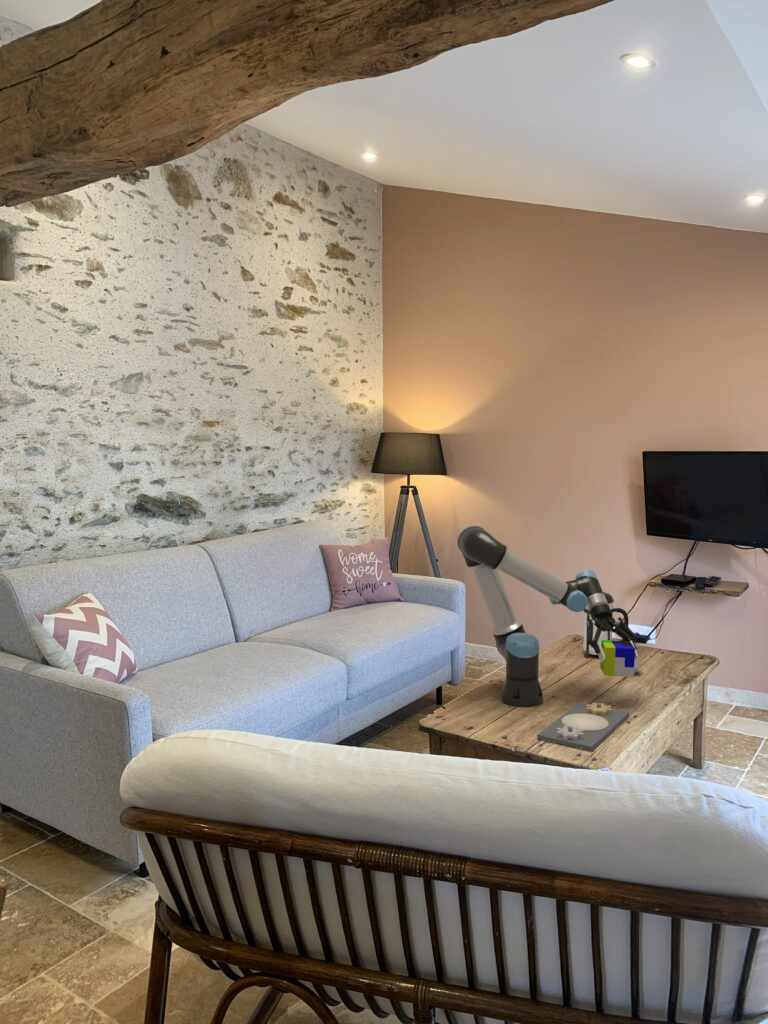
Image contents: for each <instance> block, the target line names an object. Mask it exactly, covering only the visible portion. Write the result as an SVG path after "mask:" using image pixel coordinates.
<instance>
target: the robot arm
mask: <svg viewBox="0 0 768 1024" xmlns="http://www.w3.org/2000/svg"><path fill="white" fill-rule="evenodd" d="M457 547H458V549H459V551H460V552H461V553H462V556H463V559H464V562H465V564H466V567H467V568H468V569H471V570H472V571H473V574H474V576H475V579H476V582H477V584H478V586H479V587H478V588H479V589H480V593H481V594H482V598H483V599H484V600H483V601H484V602H485V605H486V608H487V611H488V613H489V616H490V619H491V621H492V624H493V627H494V628H493V629H492V635H493V637H494V641H495V648H496V649H497V651H498V653H499V654H500V655H501V657H502V658H503V659H504V660H505V681H504V683H503V686H502V688H501V692H500V700H501V701H502V702H503V703H504V704H506V705H508V706H509V705H510V706H513V707H514V706H515V707H522V708H523V707H534V706H538V705H541V704H542V703H543V702H544V694H543V690H542V687H541V684H540V681H539V668H540V667H539V666H540V665H539V662H540V661H539V660H540V659H539V657H540V656H539V655H540V643H539V640H538V638H537V637H536V636H535V635H533V634H530V633H527V632H526V631H525V628H524V625H523V623H522V621H521V620H519V619H516V616H515V612H514V610H513V608H512V605H511V602H510V599H509V597H508V594H507V591H506V588H505V586H504V584H503V581H502V579H501V576H500V573H499V571H501V572H503V573H505V574H507V575H508V576H510V577H511V578H513V579H516V580H517V581H519V582H520V583H523V584H524V585H526V586H528V587H530V588H532V589H533V590H536V591H537V592H539V593H540V594H543V595H544V596H546V597H548V599H549V601H550V603H551V604H552V605H553V606H554V605H562V606H564V607H566V608H567V609H568V610H570V611H571V612H574V613H579V612H580V613H581V612H584V611H583V610H584V609H585V608H586V606H587V608H588V610H589V611H590V615H591V618H592V620H591V619H589V620H588V621H587V623H586V624H587V645H591V647H592V648H594V650H595V653H596V654H598V655H597V656H598V658H599V660H600V662H601V663H604V661H605V654H604V652H603V649H602V647H601V644H600V643H598V644H597V642H598V640H599V637H600V634H601V631H603V632H605V631H612V634H613V633H615V634H616V635H617V636H618V637H620V638H621V640H622V639H623V640H625V641H630V642H631V644H632V645H633V647H634V648H635V660H636V659H637V658H638V659H639V653H638V651H637V645H636V643H635V642H636V640H637V639H638V636H637V635H636V634H635V633H634V632H633V631H632V629H631V628H630V627H629V625H628V626H627V625H626V624H625V623H624V619H623V618H622V617H621V616H619V617H618V618H614V617H612V612H611V610H610V607H609V605H608V602H607V600H606V598H605V595H604V593H603V592H604V590H603V589H602V586H601V584H600V582H599V581H600V580H599V579H598V577H597V576H596V573H595V572H594V571H593V570H591V569H585V570H582V571H580V572H578V573H576V575H575V579H572V580H568V581H563V580H561V579H560V578H557V577H556V576H554V575H552V574H550V573H549V572H547V571H545V570H544V569H542V568H540V567H538V566H537V565H534V563H531V562H529V561H528V560H525V559H524V558H522V557H521V556H519V555H517V554H516V553H513V552H512V551H510V550H509V548H508V546H507V545H505V544H503V543H501V542H500V541H498V540H497V539H496V538H495V537H494V536H493V535H492V534H490V533H489V531H487V530H486V529H484V527H482V526H479V525H469V526H466V527H465V528H463V529H461V531H460V533H459V534H458V536H457ZM593 625H595V626H596V627H597V630H596V634H595V637H594V639H593Z"/></svg>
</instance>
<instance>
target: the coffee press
mask: <svg viewBox="0 0 768 1024" xmlns="http://www.w3.org/2000/svg"><path fill="white" fill-rule="evenodd" d="M603 593H604V595H605V598H606V600H607V602H608V605H609V607H610V610H611V612H612V617H613V616H614V613H620V614H621V615H622V616H623V622H624V623H625V624H626V625H627V626H628V627H629V616H628V613H627V611H626V610H624V609H623V608H620V607H616V608H614V602H615V599H614V597H613V596H612V595H611V593H608V592H606V591H605V592H604V591H603ZM582 612H583V634H582V635H583V636H582V637H583V641H582V642H583V643H582V646H583V648H582V649H583V652H584V656H583V657H584V658H586V659H589V658H590V656H591V655H593V656H598V654H596V653H595V650H594V648H592V647H591V645H587V624H586V623H587V621H588V620H589V619H591V620H592V618H591V615H590V611H589V610H588V608H587V606H586V608H585V609H584V610H583V611H582ZM613 618H614V617H613ZM596 630H597V627H596V626H595V625H593V639H594V637H595V634H596ZM602 640H610V641H613V632H612V631H605V632H603V631H601V634H600V637H599V640H598V642H597V644H598V643H600V644H601V642H602ZM620 641H625V640H623V639H622V638H621V640H620Z"/></svg>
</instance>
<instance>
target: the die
mask: <svg viewBox="0 0 768 1024" xmlns="http://www.w3.org/2000/svg"><path fill="white" fill-rule="evenodd" d="M641 664H642V661H641V660H640V659H639V657H638V658H637V659H636V660H635V662H634V674H638V671H639V670H640V667H641Z"/></svg>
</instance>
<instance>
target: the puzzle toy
mask: <svg viewBox="0 0 768 1024" xmlns="http://www.w3.org/2000/svg"><path fill="white" fill-rule="evenodd" d="M601 647H602V649H603V652H604V654H605V661H604V663H601V661H600V662H599V663H600V664H599V665H600V667H599V668H600V670H601V671H602V673H603V676H609V677H611V676H612V677H613V676H614V677H629V678H630V677H631V678H633V677H635V673H634V662H635V648H634V647H633V645H632V644H631V642H630V641H621V640H612V641H610V640H602V642H601Z"/></svg>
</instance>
